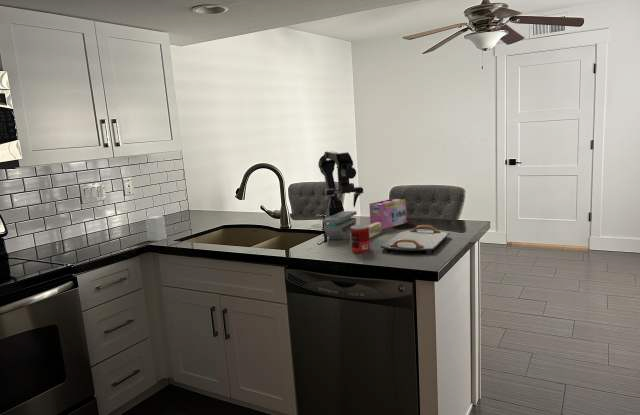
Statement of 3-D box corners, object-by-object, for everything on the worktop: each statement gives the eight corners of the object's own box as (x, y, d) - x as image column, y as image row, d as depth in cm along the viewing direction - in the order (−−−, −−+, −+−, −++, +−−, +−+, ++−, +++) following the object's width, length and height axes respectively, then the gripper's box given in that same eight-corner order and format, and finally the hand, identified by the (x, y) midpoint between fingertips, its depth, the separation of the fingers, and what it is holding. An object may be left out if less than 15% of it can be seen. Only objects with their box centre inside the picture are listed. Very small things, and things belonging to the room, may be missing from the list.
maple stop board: (350, 244, 222) (349, 233, 221) (376, 231, 247) (375, 222, 246) (356, 244, 220) (355, 234, 219) (381, 231, 246) (381, 222, 245)
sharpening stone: (343, 231, 253) (342, 211, 252) (357, 231, 250) (356, 211, 249) (323, 241, 231) (322, 219, 230) (338, 242, 228) (337, 219, 226)
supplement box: (167, 238, 268) (164, 215, 266) (157, 241, 261) (155, 218, 260) (157, 237, 271) (154, 215, 269) (147, 240, 264) (144, 218, 263)
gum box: (397, 221, 273) (396, 197, 271) (408, 222, 267) (407, 198, 265) (370, 228, 257) (368, 203, 255) (381, 230, 251) (380, 204, 249)
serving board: (432, 257, 191) (431, 242, 190) (377, 254, 201) (376, 240, 200) (451, 237, 225) (451, 224, 224) (403, 235, 235) (403, 223, 235)
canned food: (371, 249, 209) (370, 224, 208) (367, 253, 202) (366, 228, 200) (354, 249, 212) (353, 224, 210) (349, 253, 204) (348, 228, 203)
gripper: (326, 180, 234) (328, 211, 237) (364, 177, 235) (365, 209, 238) (324, 178, 245) (326, 208, 248) (360, 175, 246) (362, 205, 249)
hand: (345, 207), depth 245 cm, fingers open, 9 cm apart
